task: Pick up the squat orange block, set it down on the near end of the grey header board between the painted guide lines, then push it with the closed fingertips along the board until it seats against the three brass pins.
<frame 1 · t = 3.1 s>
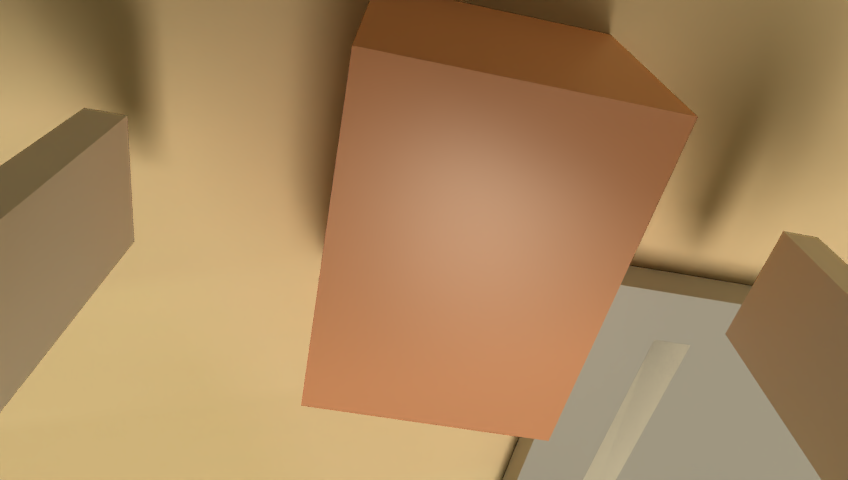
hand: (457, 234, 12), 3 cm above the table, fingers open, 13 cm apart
orange block: (456, 159, 15), on the table
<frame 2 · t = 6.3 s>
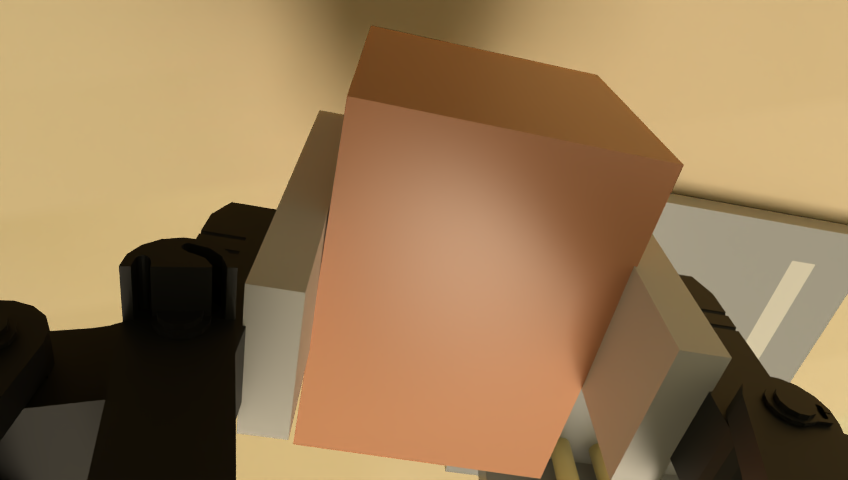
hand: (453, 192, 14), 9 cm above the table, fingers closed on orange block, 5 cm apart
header: (631, 354, 28), on the table
orange block: (449, 195, 15), point 8 cm above the table, touching gripper
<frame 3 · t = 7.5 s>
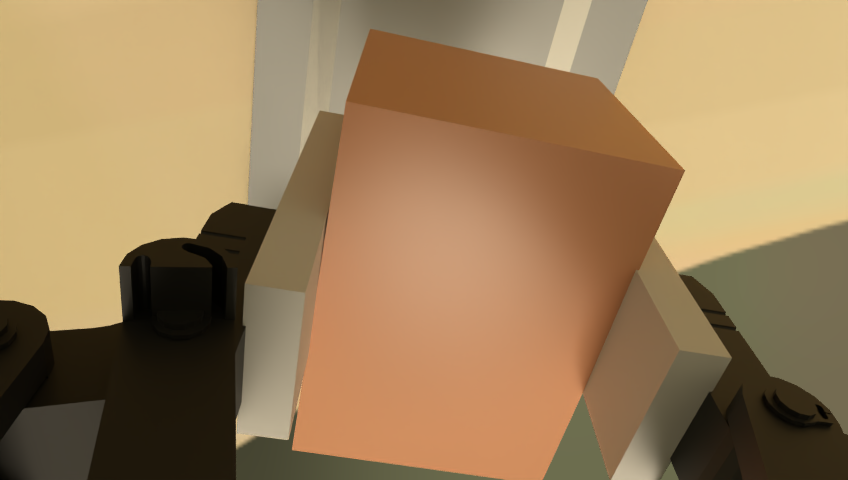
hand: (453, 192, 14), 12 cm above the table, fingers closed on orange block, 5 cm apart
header: (426, 122, 26), on the table
orange block: (448, 199, 15), point 12 cm above the table, touching gripper
when the fingers open (3 cm above the table, at t = 8.7 s): orange block drops 1 cm, resting on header.
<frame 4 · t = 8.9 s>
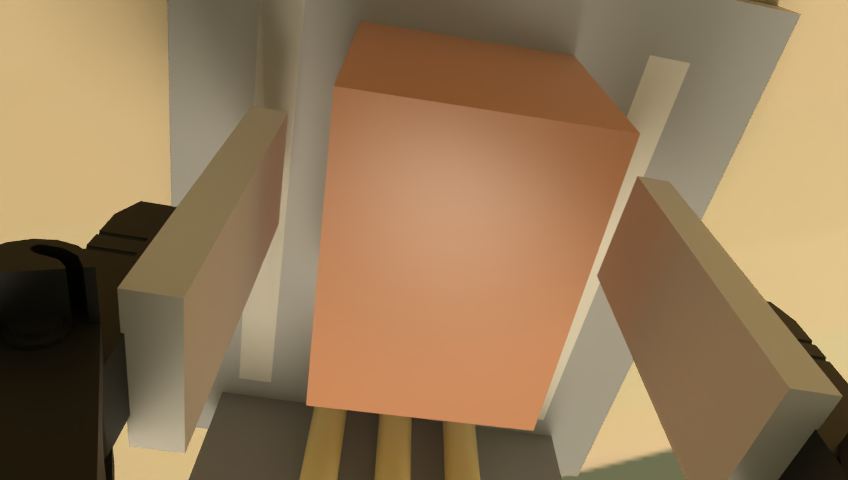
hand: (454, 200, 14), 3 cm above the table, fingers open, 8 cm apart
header: (427, 240, 18), on the table
orange block: (442, 175, 16), point 1 cm above the table, touching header
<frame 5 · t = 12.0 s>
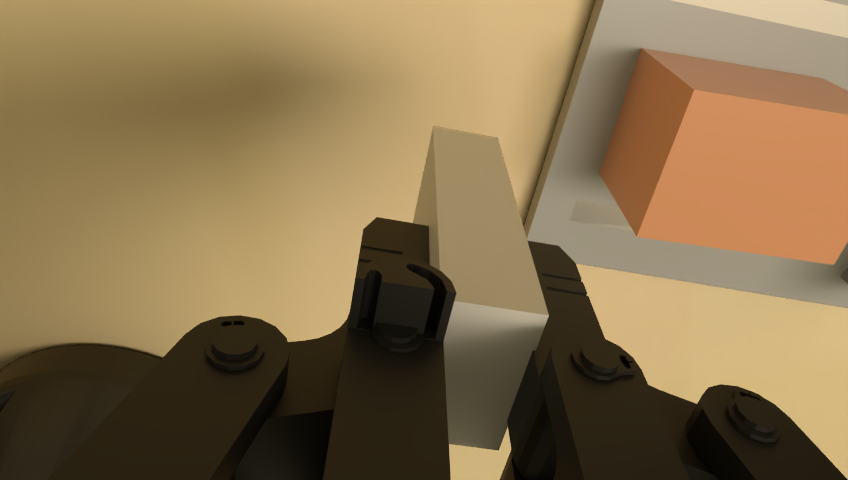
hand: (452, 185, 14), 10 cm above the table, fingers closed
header: (757, 128, 25), on the table
orange block: (706, 127, 24), point 1 cm above the table, touching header
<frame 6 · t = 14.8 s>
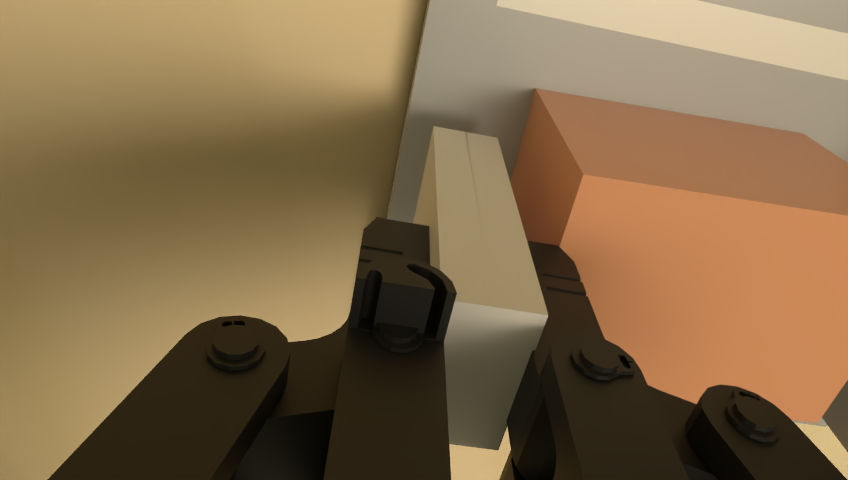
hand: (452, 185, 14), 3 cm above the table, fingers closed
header: (677, 191, 17), on the table
orange block: (637, 200, 16), point 1 cm above the table, touching gripper
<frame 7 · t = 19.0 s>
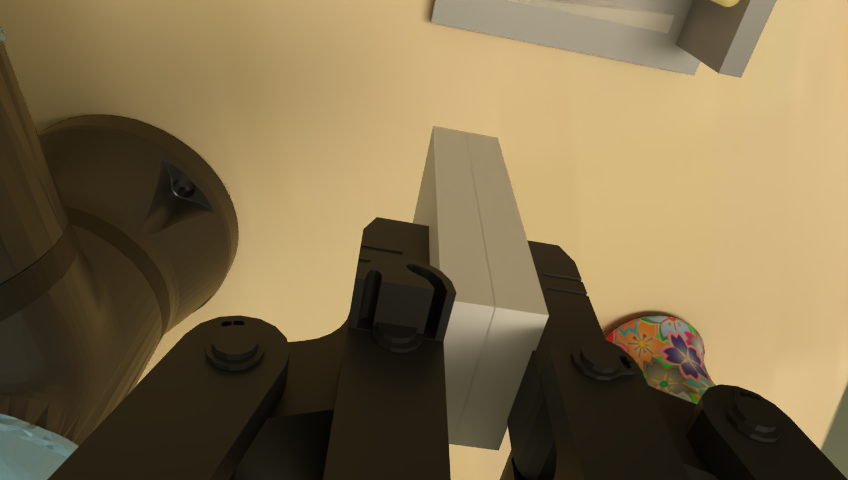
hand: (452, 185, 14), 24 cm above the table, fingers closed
mug: (641, 362, 50), on the table
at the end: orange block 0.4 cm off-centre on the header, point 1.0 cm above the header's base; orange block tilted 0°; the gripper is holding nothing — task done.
